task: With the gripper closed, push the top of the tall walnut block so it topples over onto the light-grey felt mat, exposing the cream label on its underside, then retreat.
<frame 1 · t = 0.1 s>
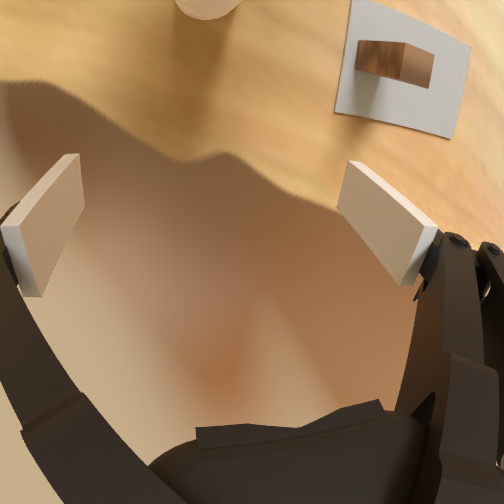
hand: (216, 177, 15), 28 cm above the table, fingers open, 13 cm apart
felt mat: (411, 72, 39), on the table
walnut block: (369, 58, 37), resting on felt mat
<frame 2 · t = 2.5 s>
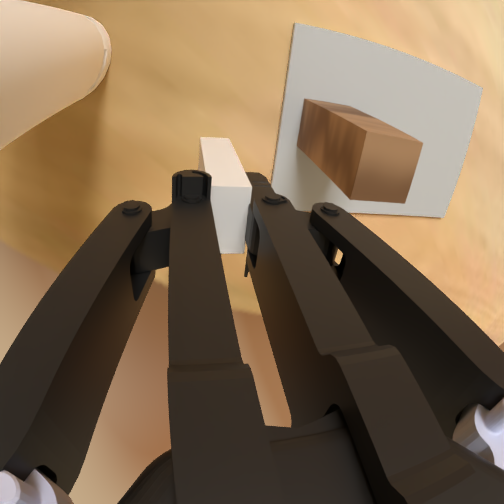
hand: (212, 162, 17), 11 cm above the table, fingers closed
bottle: (67, 58, 20), on the table
felt mat: (391, 135, 29), on the table
walnut block: (323, 125, 27), resting on felt mat
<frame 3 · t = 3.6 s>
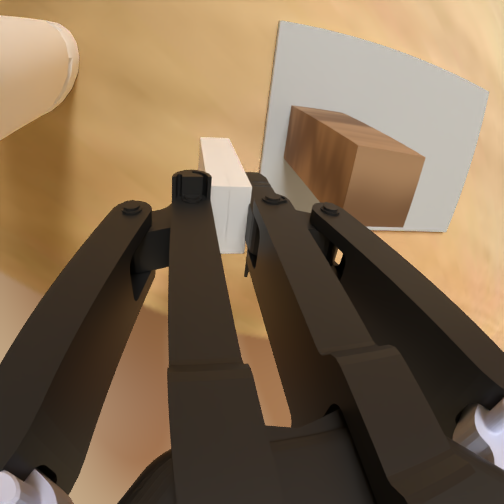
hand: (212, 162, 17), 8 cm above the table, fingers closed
bottle: (35, 68, 17), on the table
felt mat: (389, 145, 27), on the table
walnut block: (313, 134, 25), resting on felt mat
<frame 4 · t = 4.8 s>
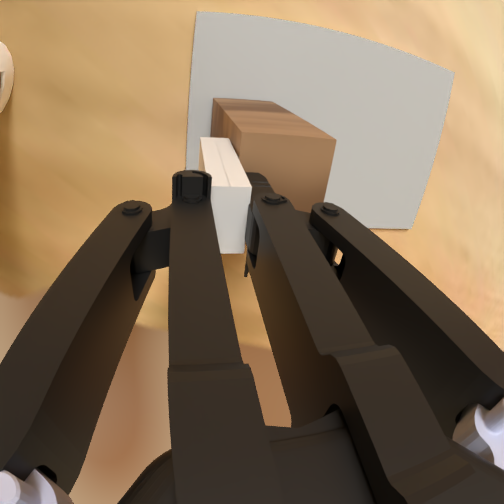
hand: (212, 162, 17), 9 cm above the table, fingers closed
felt mat: (332, 134, 26), on the table
walnut block: (240, 127, 24), resting on felt mat, touching gripper
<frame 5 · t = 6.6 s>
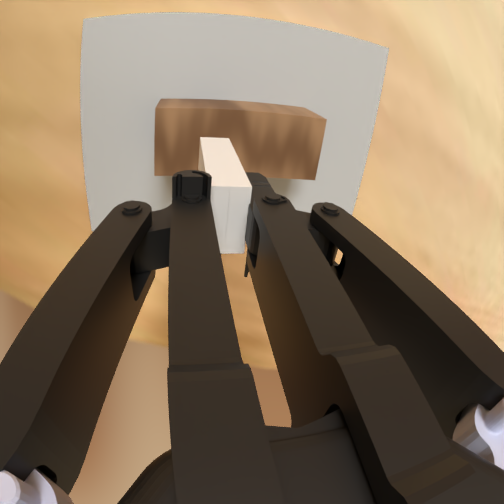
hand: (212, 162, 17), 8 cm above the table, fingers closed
felt mat: (234, 127, 24), on the table
walnut block: (157, 134, 20), point 3 cm above the table, tilted 90°, touching felt mat
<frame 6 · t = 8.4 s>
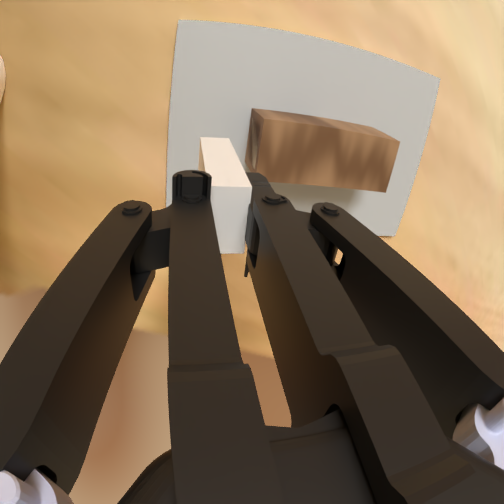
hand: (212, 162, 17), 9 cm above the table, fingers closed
felt mat: (312, 140, 26), on the table
walnut block: (253, 142, 23), point 3 cm above the table, tilted 90°, touching felt mat
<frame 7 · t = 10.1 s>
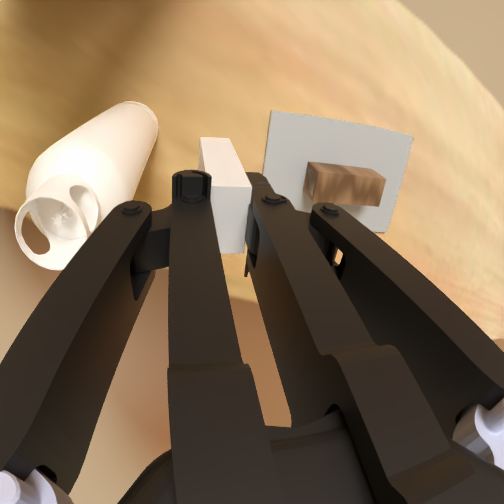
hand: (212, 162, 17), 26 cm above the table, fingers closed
bottle: (129, 130, 38), on the table
felt mat: (338, 177, 48), on the table
walnut block: (310, 181, 44), point 3 cm above the table, tilted 90°, touching felt mat
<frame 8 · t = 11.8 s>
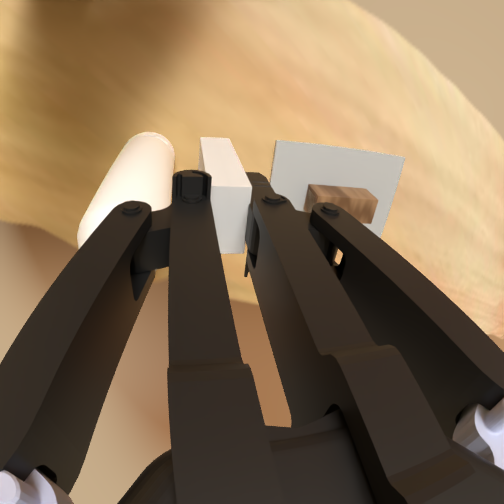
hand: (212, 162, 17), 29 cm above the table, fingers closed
bottle: (147, 157, 44), on the table
felt mat: (335, 197, 54), on the table
walnut block: (310, 202, 50), point 3 cm above the table, tilted 90°, touching felt mat
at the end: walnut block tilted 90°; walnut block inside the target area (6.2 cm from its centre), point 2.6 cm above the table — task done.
